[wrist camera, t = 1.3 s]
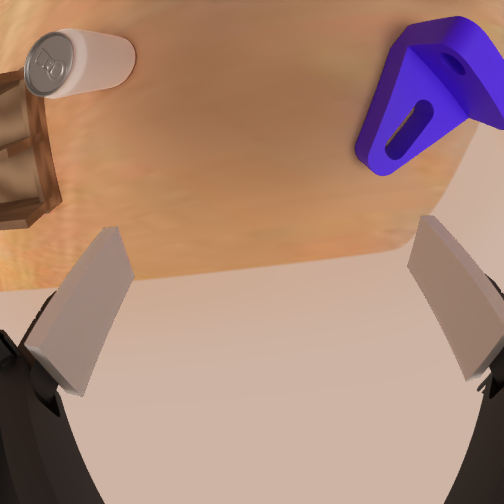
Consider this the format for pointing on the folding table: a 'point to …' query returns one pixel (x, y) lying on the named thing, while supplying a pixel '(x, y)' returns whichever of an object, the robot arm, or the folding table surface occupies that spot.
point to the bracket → (431, 91)
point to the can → (77, 63)
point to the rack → (24, 156)
